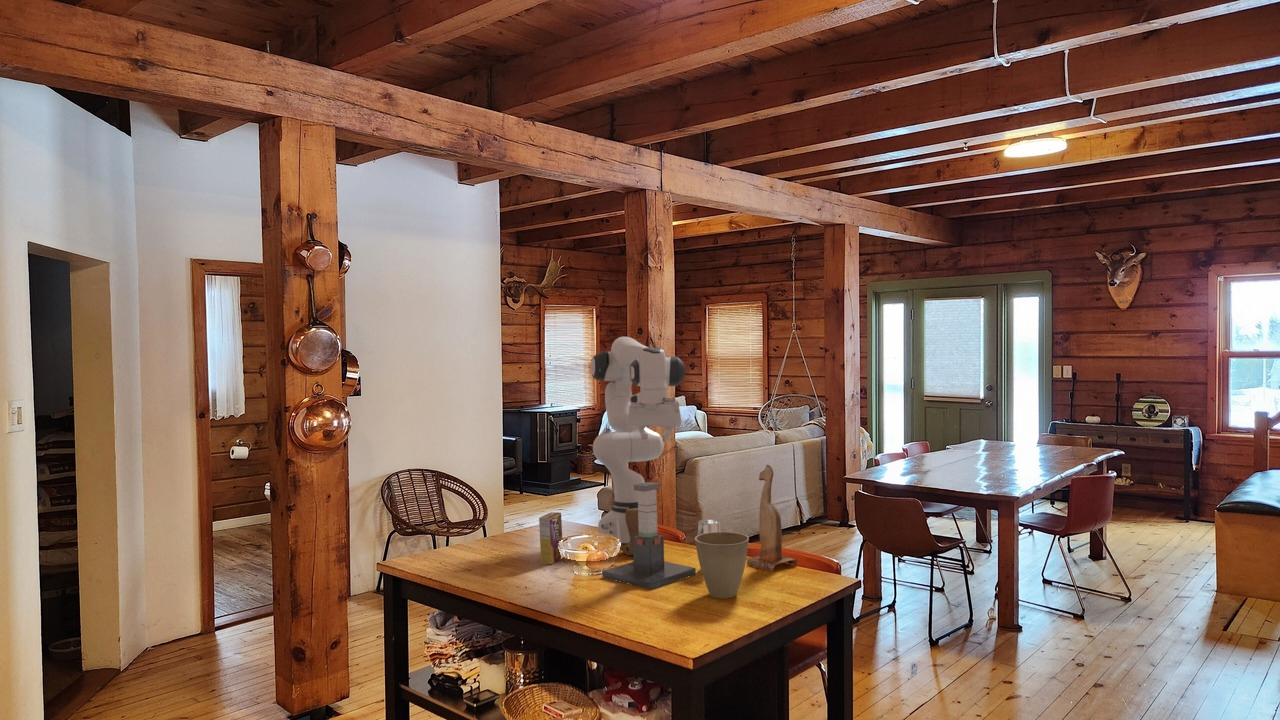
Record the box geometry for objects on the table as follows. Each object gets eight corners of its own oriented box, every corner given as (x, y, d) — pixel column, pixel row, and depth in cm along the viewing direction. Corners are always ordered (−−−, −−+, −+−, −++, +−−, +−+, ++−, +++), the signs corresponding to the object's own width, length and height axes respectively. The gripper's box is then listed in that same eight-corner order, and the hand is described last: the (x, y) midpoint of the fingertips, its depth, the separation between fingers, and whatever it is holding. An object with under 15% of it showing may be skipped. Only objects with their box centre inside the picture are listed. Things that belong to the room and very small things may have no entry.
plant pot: (687, 591, 232) (686, 535, 232) (734, 584, 237) (733, 529, 237) (710, 606, 218) (709, 546, 218) (759, 599, 223) (758, 540, 223)
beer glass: (713, 574, 249) (712, 524, 249) (694, 570, 253) (693, 522, 253) (725, 568, 254) (724, 520, 254) (706, 565, 259) (705, 518, 258)
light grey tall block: (635, 548, 247) (633, 484, 247) (650, 544, 252) (649, 481, 252) (645, 551, 244) (644, 486, 244) (661, 546, 249) (660, 483, 249)
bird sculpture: (769, 559, 265) (764, 461, 265) (798, 565, 256) (793, 463, 256) (746, 566, 258) (740, 465, 258) (774, 572, 249) (769, 467, 249)
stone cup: (643, 544, 288) (642, 502, 288) (667, 550, 280) (666, 506, 279) (611, 553, 278) (610, 508, 277) (635, 559, 269) (634, 513, 269)
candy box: (552, 557, 274) (550, 511, 274) (563, 558, 272) (562, 512, 272) (539, 564, 265) (538, 517, 265) (551, 565, 264) (550, 517, 264)
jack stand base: (602, 577, 248) (601, 537, 248) (647, 563, 262) (646, 526, 262) (650, 589, 234) (649, 547, 234) (695, 574, 249) (694, 535, 248)
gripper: (684, 397, 260) (685, 441, 261) (638, 396, 275) (639, 437, 275) (671, 399, 256) (672, 443, 256) (625, 397, 270) (626, 439, 270)
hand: (655, 440), depth 265 cm, fingers open, 8 cm apart
